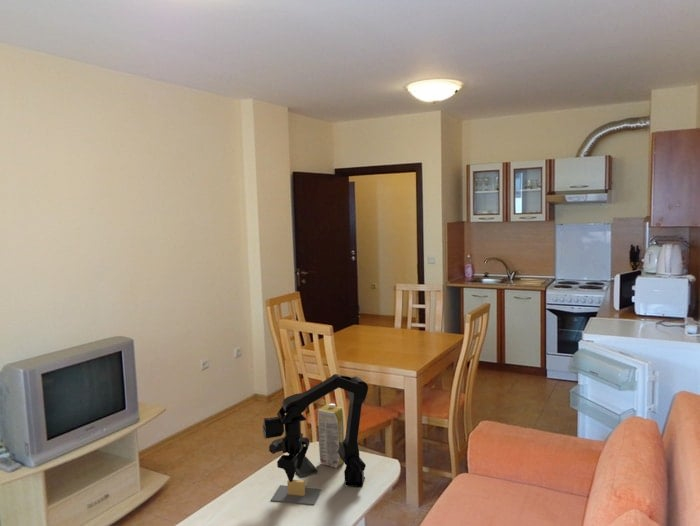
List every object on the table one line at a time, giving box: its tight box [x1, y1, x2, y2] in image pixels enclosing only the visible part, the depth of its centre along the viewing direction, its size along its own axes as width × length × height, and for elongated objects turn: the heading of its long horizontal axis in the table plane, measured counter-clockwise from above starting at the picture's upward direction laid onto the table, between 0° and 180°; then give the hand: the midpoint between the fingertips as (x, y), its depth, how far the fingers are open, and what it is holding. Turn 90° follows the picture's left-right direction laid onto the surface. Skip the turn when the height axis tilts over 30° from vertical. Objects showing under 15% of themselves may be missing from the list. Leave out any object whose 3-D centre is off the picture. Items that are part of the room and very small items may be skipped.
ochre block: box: [286, 479, 306, 496], centre depth 190 cm, size 6×2×5 cm, turn 78°
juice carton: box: [317, 403, 345, 469], centre depth 211 cm, size 9×8×24 cm
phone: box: [295, 455, 319, 478], centre depth 210 cm, size 8×1×15 cm
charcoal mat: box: [270, 484, 322, 506], centre depth 190 cm, size 16×10×1 cm, turn 78°
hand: (294, 474), depth 189 cm, fingers open, 9 cm apart
